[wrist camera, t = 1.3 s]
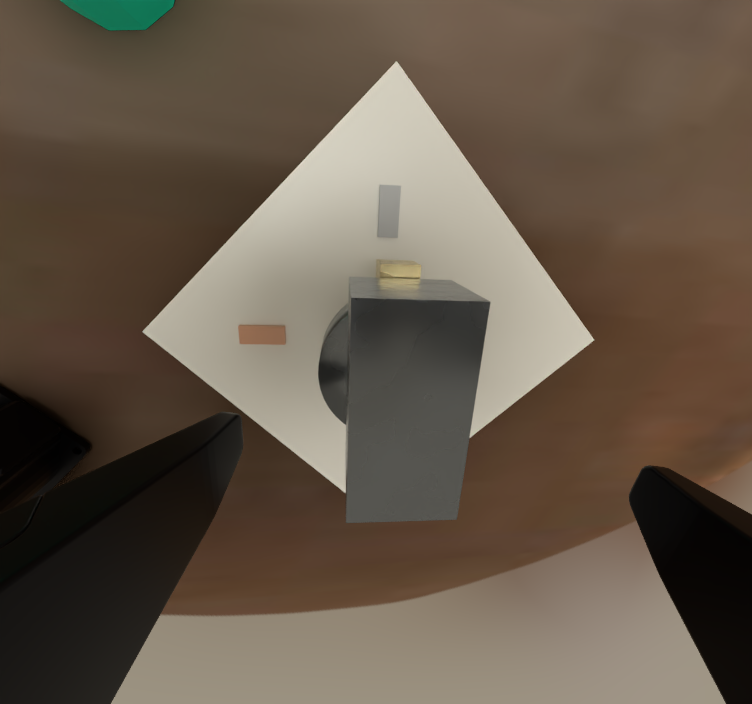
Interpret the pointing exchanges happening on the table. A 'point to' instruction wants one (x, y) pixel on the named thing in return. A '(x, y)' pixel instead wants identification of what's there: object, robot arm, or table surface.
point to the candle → (121, 12)
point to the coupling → (404, 390)
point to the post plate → (363, 274)
